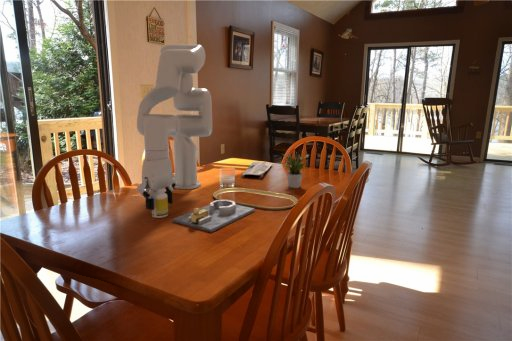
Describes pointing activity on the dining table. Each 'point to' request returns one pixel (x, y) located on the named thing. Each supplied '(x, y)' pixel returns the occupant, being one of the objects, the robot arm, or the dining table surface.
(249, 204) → the gold oval ring
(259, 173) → the newspaper
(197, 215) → the bolt
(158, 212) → the supplement bottle
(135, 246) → the dining table surface
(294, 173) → the house plant
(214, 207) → the dock
